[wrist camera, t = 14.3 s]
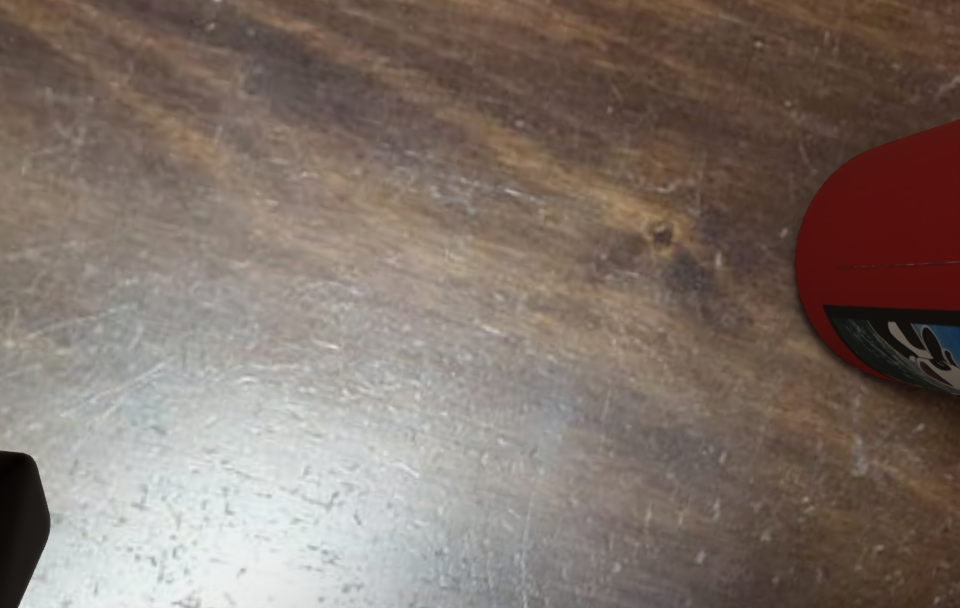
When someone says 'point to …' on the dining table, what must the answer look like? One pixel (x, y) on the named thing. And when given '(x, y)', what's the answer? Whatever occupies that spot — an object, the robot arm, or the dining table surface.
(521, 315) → the dining table surface
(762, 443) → the dining table surface
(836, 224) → the beverage can
